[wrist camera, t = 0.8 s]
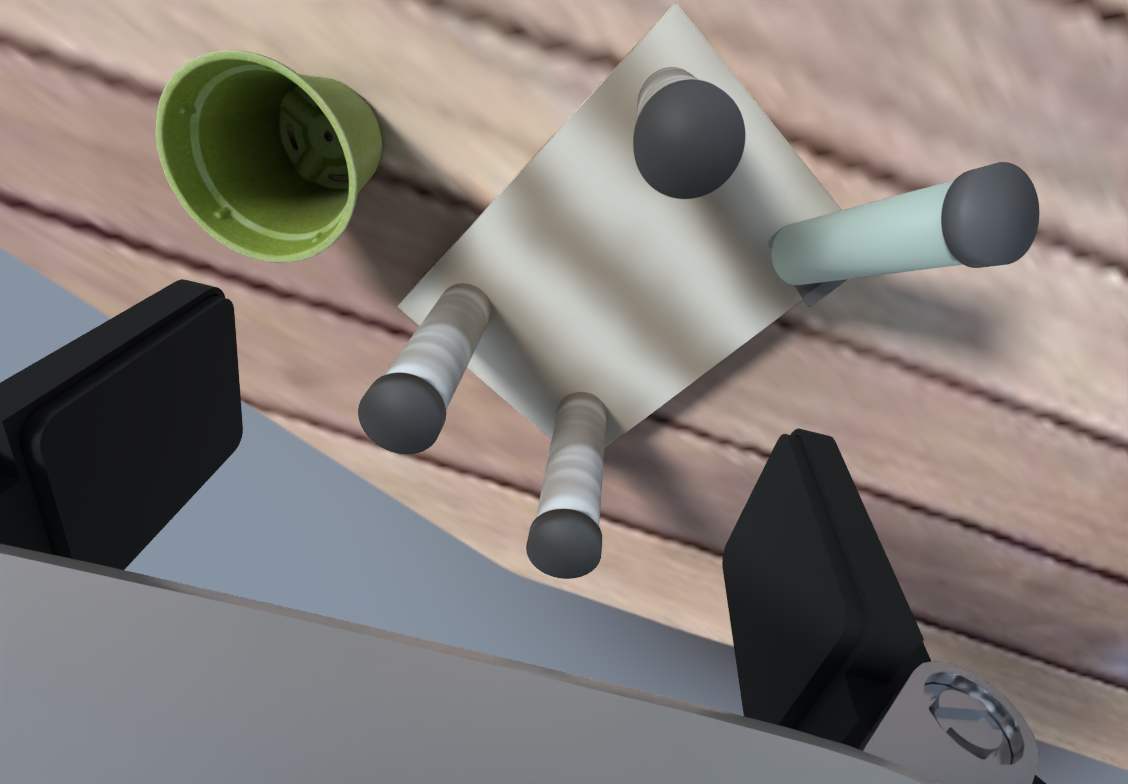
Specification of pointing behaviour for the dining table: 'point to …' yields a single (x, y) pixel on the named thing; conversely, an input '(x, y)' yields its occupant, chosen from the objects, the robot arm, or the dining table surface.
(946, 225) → the hinged leg
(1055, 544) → the dining table surface
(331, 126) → the plant pot
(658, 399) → the stool
